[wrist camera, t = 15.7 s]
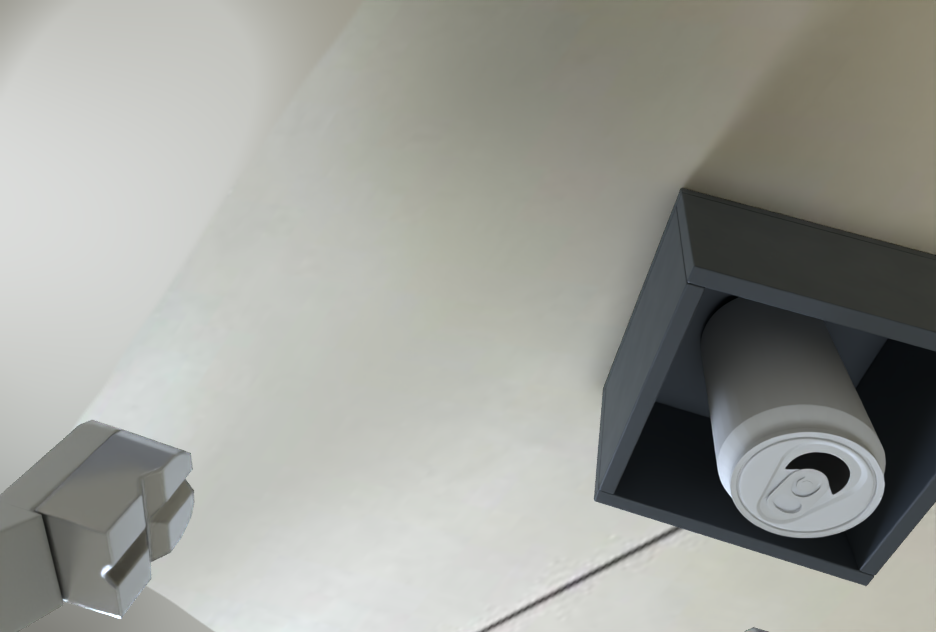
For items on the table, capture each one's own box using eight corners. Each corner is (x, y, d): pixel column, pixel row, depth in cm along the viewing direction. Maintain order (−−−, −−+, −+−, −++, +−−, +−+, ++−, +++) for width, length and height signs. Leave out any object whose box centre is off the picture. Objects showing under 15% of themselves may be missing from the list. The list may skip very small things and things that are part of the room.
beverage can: (851, 321, 35) (937, 477, 25) (771, 402, 38) (818, 569, 28) (747, 264, 35) (791, 398, 25) (676, 351, 38) (688, 500, 28)
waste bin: (681, 187, 34) (694, 265, 26) (947, 258, 33) (1050, 364, 25) (602, 389, 42) (593, 501, 33) (820, 453, 40) (867, 587, 32)
